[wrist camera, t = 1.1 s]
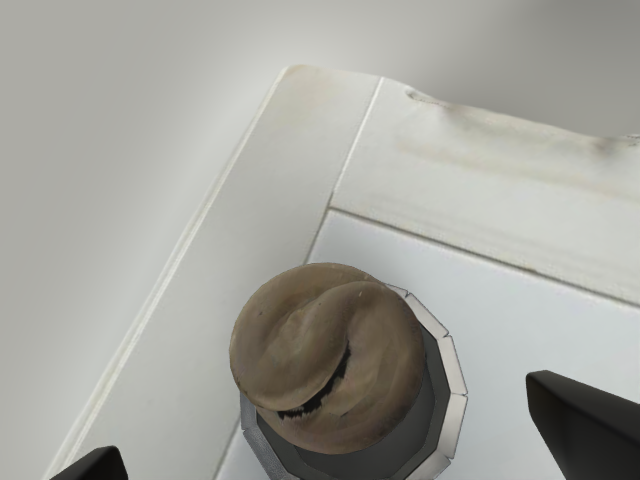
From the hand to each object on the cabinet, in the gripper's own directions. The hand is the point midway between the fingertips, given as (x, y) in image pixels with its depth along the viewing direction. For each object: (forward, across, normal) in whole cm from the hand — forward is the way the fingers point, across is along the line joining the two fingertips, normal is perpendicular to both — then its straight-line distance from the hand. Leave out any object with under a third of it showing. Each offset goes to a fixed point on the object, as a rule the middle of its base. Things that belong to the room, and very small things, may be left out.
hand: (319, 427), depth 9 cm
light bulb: (+14, 0, +8) cm, 16 cm away
